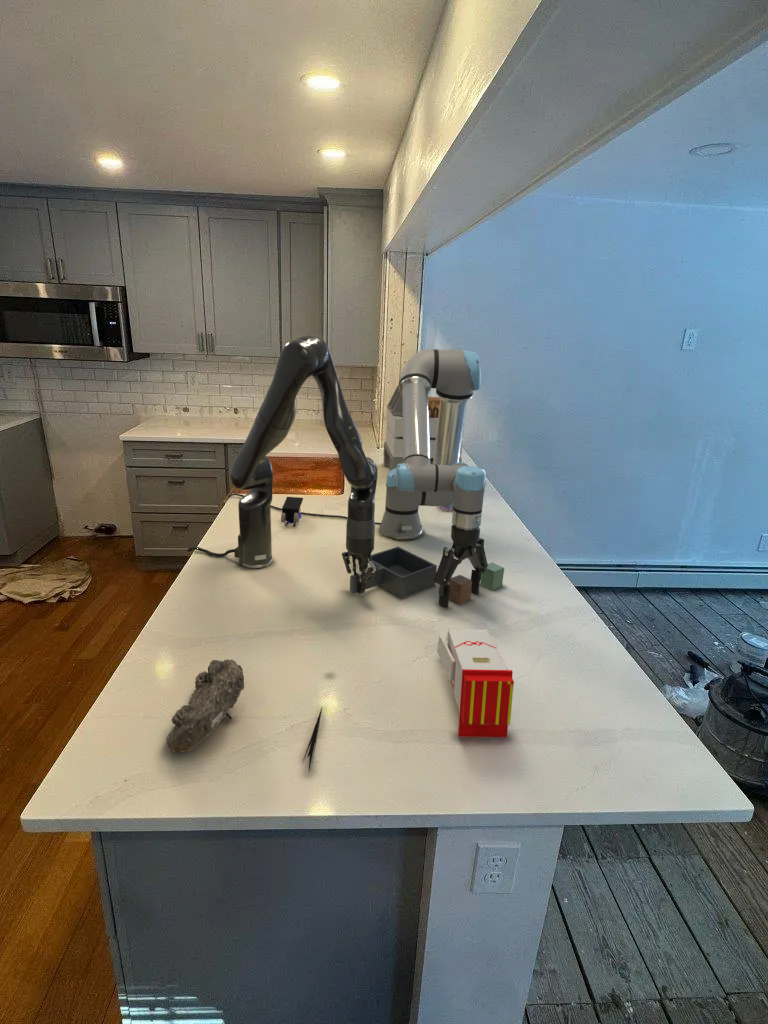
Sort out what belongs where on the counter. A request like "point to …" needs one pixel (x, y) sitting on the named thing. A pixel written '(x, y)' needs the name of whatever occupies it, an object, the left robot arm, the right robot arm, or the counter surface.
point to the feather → (313, 740)
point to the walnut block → (460, 589)
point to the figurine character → (291, 510)
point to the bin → (399, 573)
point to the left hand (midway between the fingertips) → (358, 591)
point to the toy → (478, 682)
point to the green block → (492, 576)
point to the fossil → (206, 705)
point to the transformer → (395, 429)
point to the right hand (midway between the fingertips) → (459, 598)
